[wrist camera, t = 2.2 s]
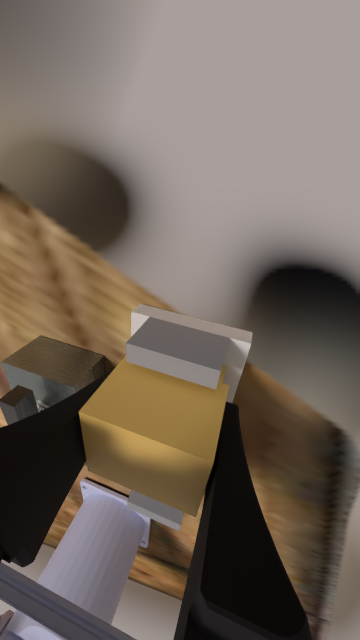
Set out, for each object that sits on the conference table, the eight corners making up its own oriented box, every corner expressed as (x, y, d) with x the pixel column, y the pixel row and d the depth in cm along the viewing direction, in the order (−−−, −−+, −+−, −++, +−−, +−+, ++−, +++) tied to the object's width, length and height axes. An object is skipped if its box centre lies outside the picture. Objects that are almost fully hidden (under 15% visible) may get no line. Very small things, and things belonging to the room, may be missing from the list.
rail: (203, 486, 20) (192, 537, 17) (135, 459, 21) (114, 502, 18) (252, 332, 12) (247, 379, 9) (140, 303, 13) (104, 336, 10)
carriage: (217, 420, 14) (195, 517, 10) (136, 393, 15) (88, 470, 11) (232, 367, 12) (213, 462, 8) (138, 340, 13) (78, 411, 9)
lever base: (108, 430, 20) (83, 470, 17) (57, 411, 21) (26, 445, 18) (103, 355, 16) (69, 391, 13) (40, 335, 17) (-4, 364, 14)
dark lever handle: (54, 442, 16) (34, 466, 15) (34, 434, 16) (13, 456, 15) (39, 389, 14) (14, 412, 12) (16, 380, 14) (-11, 401, 13)
